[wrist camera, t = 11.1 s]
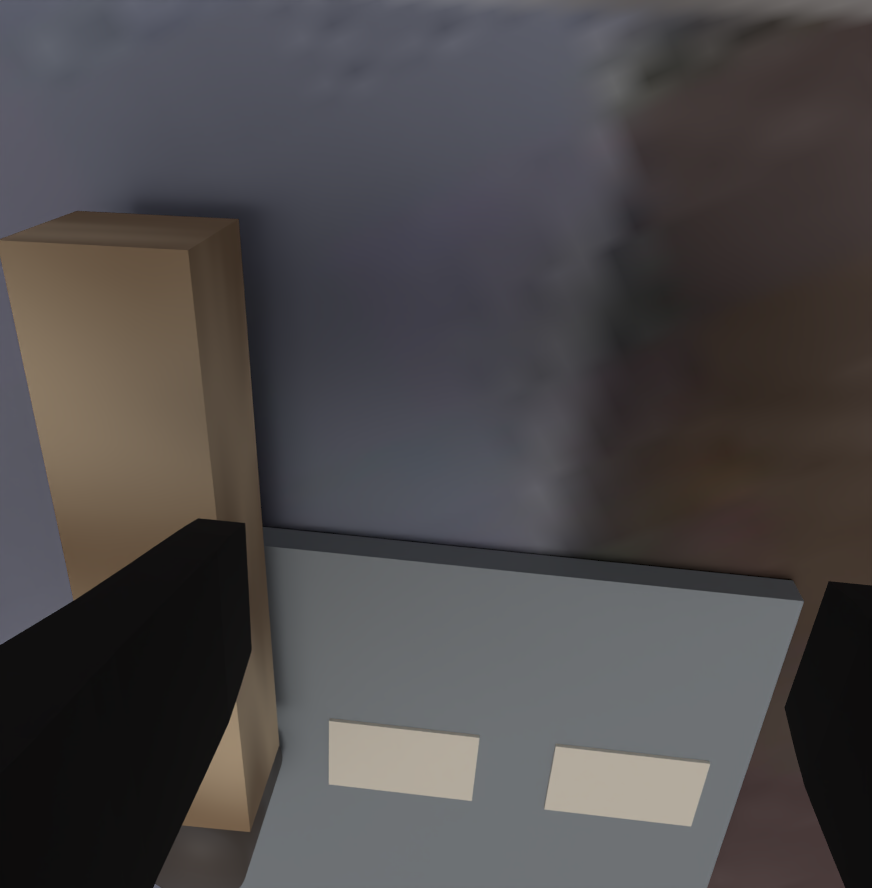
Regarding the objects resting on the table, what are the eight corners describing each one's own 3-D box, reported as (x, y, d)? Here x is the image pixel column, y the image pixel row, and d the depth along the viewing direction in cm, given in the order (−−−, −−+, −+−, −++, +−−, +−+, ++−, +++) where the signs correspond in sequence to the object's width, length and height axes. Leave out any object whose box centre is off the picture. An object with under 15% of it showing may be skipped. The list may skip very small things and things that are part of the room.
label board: (210, 862, 25) (201, 888, 25) (177, 517, 20) (163, 538, 19) (682, 919, 25) (687, 948, 24) (792, 580, 19) (805, 604, 18)
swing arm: (292, 790, 22) (257, 905, 19) (185, 780, 22) (135, 892, 19) (251, 210, 15) (188, 250, 12) (96, 203, 15) (-3, 240, 12)
